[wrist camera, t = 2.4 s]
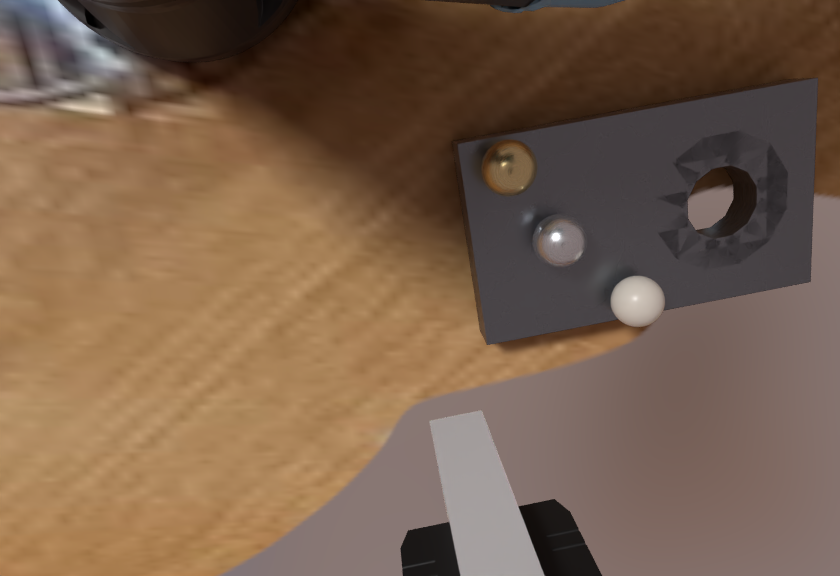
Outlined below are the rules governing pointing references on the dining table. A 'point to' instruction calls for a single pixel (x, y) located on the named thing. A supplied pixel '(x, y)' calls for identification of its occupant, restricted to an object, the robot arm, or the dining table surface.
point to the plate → (645, 207)
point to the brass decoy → (509, 168)
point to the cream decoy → (637, 301)
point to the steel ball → (560, 240)
